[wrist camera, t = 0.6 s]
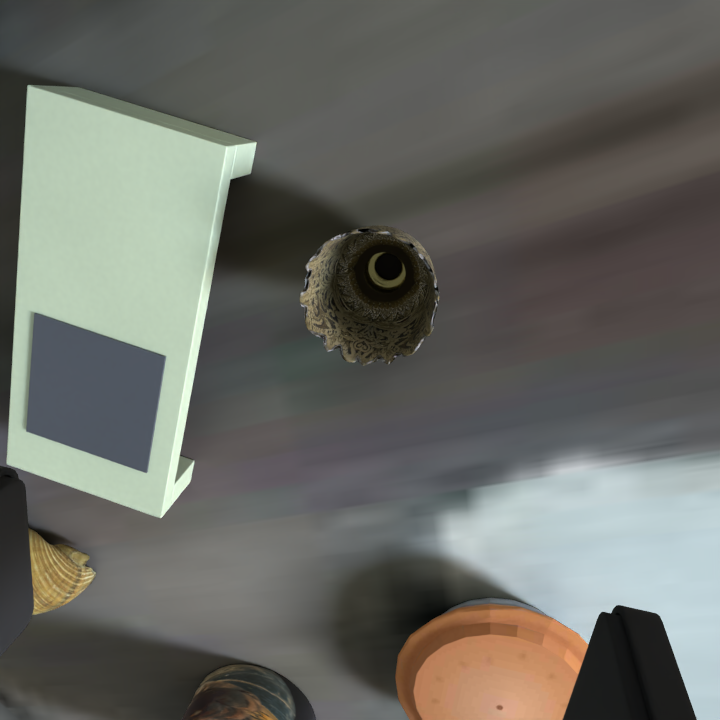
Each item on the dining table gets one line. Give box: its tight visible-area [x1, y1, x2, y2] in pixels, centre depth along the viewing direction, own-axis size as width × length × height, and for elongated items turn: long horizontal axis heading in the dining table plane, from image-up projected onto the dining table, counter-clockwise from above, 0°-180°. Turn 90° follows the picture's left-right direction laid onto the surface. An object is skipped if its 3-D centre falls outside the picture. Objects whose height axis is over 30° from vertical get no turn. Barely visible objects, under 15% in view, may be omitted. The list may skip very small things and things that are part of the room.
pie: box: [395, 598, 588, 720], centre depth 49 cm, size 15×16×5 cm
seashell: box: [28, 528, 96, 615], centre depth 54 cm, size 10×7×8 cm
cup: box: [300, 226, 439, 365], centre depth 38 cm, size 8×7×8 cm
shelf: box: [7, 85, 257, 518], centre depth 43 cm, size 26×12×5 cm, turn 165°
